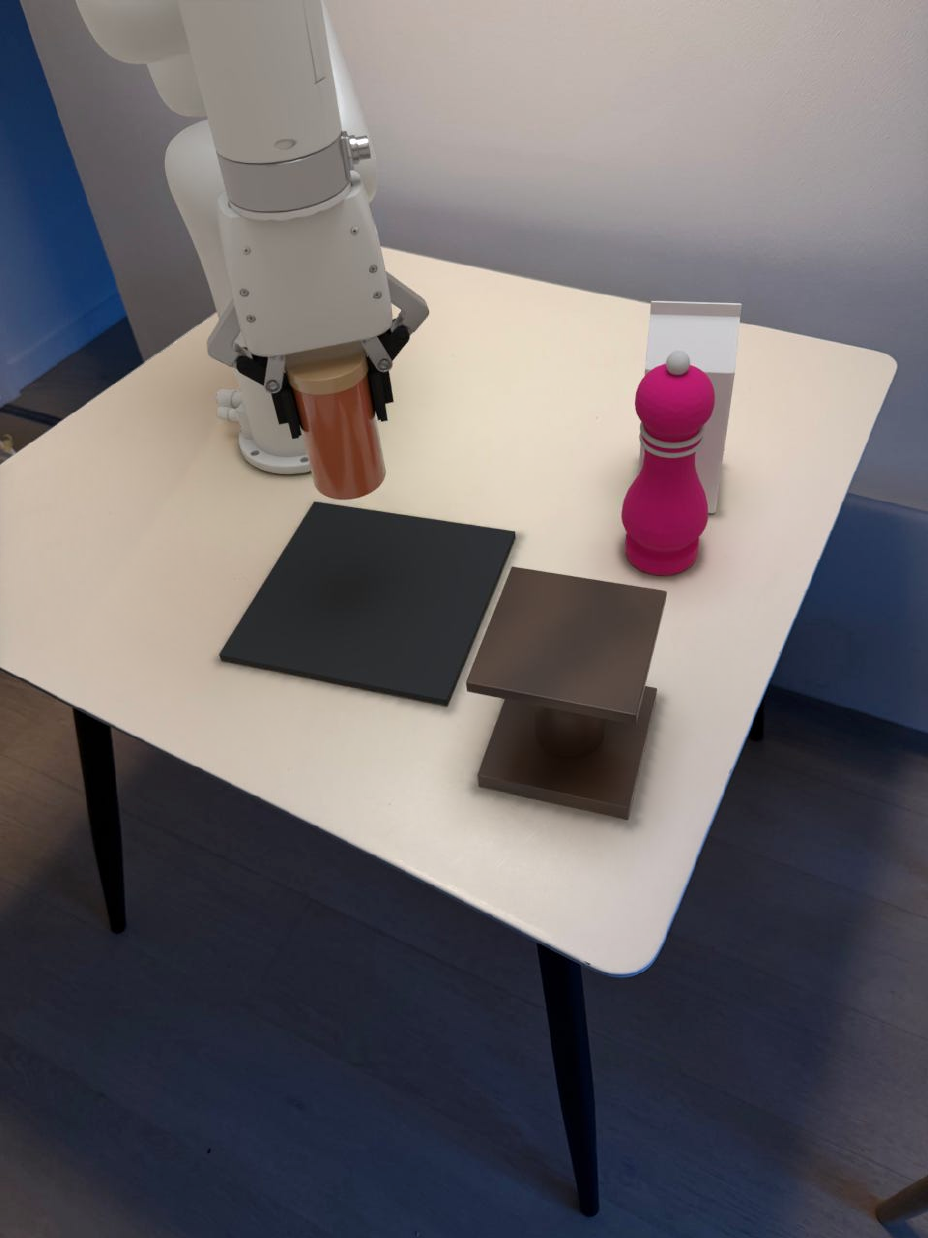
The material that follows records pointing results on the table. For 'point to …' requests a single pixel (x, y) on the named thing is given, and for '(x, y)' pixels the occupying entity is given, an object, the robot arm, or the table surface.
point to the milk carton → (712, 350)
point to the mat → (373, 601)
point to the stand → (569, 689)
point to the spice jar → (337, 419)
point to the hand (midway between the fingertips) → (337, 417)
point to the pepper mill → (668, 468)
